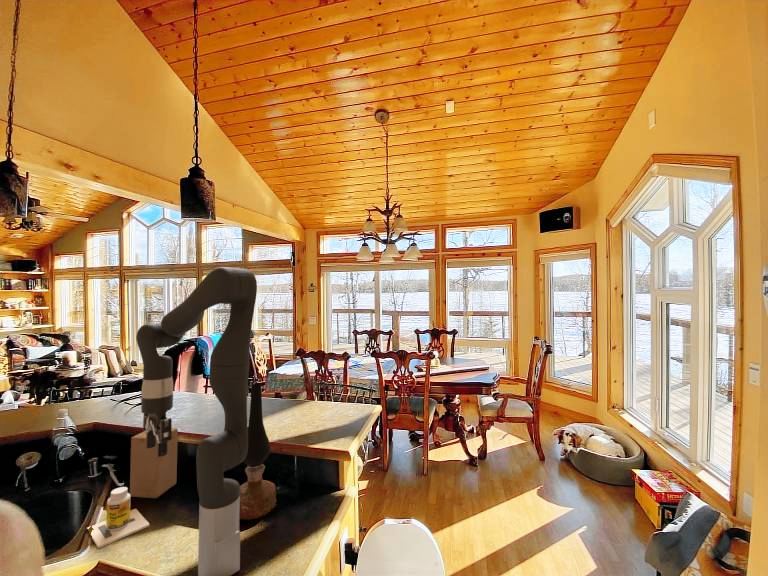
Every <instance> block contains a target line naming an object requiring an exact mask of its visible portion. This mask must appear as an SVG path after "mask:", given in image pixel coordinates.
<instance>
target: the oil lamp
mask: <svg viewBox="0 0 768 576" xmlns="http://www.w3.org/2000/svg"><path fill="white" fill-rule="evenodd" d="M250 387H251V389H250V405H249V418H248V423H247V426H248V451H247V455H246V458H245V459H244V461H243V462H244V464H246V465H247V467H246V468H245V469H244V472H245V474H246V476H247V481H246V482H244V483H242V484H241V485H240V514H239V520H246V521H247V520H254V518H255V519H259V518H261V516H262V517H264V516H266V515H268V514H269V513H268V512H270V511H271V509H273V508H274V507H275V508H276V506H277V503H276V502H277V499H276V498H277V495H276V494H277V490H276V489H277V487H276V485H275V483H273V482H272V481H270V480H265V479H263V476H262V475H263V473H264V472H265V469H266V466H265V465H264V461H266V460H267V459H268V457H269V455H270V453H271V444H270V440H269V437H268V435H267V431H266V428H265V424H264V419H263V418H264V416H263V399H262V398H263V396H262V384H261V383H253V384H251V386H250ZM275 503H276V504H275ZM275 505H276V506H275ZM275 508H274V509H275ZM274 509H273V510H274ZM271 512H272V511H271ZM271 512H270V513H271ZM267 513H268V514H267ZM265 514H266V515H265ZM263 515H264V516H263ZM258 517H259V518H258Z"/></svg>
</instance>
